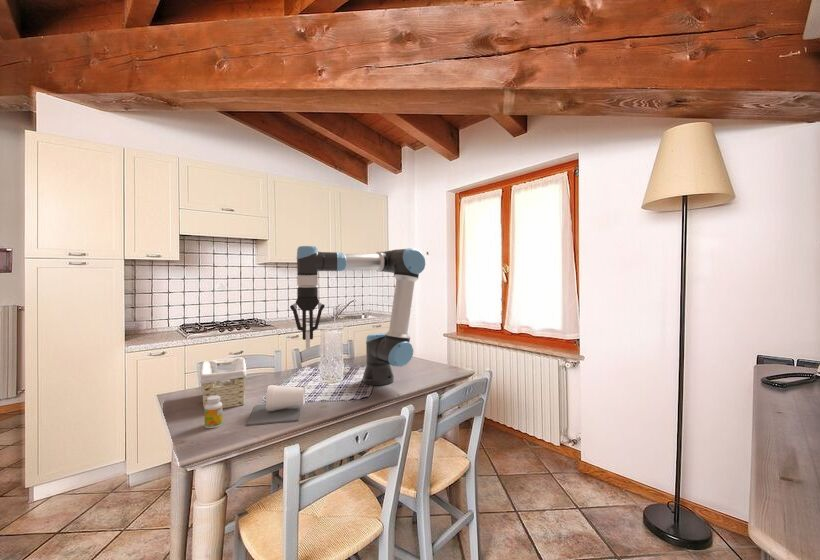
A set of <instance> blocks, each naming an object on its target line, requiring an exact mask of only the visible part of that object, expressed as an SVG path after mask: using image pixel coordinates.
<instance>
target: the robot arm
mask: <svg viewBox="0 0 820 560" xmlns="http://www.w3.org/2000/svg"><path fill="white" fill-rule="evenodd" d="M296 251H297V252H296V273H297V274H296V275H297V276H296V285H297V286H298V287H297V288H296V289H297V290H296V292H297V293H296V295H297V298H296V300H295V303H293V304H291V305H289V308H290V310H291V311H292V313H293V317H294V321H295V324H296V328H297V330H298V331H301V332H302V340H304V341H305V349H306V350H307V349H308V350H309V349H311V340H313V339H314V331H315V330H318V328H319V325H320V324H319V323H320V320H321V315H322V311H323V310H324V308H325V306H326V305H325V304H324V303H321V302H320V300H319V297H318V296H319V295H318V294H319V292H318V285H319V284H318V283H319V282H318V280H319V279H318V278H319V277H318V275H319V273H318V272H343V271H371V270H372V271H374V270H375V271H376V272H381V273H382V272H384V273H391V274H393V277H394V278H395V285H394V286H395V287H394V293H393V294H394V295H393V302H392V307H391V313H390V314H391V315H390V320H389V321H390V322H389V328H388V330H387V332H381V333H380V332H379V333H371V334H368V335H367V336H366V339H365V340H366V342H365V344H366V345H365V348H366V351H365V352H366V353H365V354H366V355H365V356H366V362H365V363H366V365H365V368H364V372H363V373H362V374H363V375H362V382H363V383H364V384H366V385H370V386H385V385H389V384H392V383H393V382H394V380H395V378H394V377H395V376H394V373H393V370H392V366H393V367H398V368H399V367H400V368H401V367H404V366H406V365H407V364H409V363H410V362H411V360H412V358H413V355H414V347H413V345H412V343H411V342H410V341H411V336H410V335H409V333H408V331H409V324H410V317H411V310H412V301H413V296H414V287H415V283H416V282H417V281H418V279H419V275H420V274H421V273H422V272H423V271H424V270H425V267H426V258H425V256H424V255H423V253H422V252H421V251H420V250H419V249H417V248H410V247H408V248H401V249H399V248H398V249H392V250H386V251H377V252H375V253H344V252H338V251H337V252H336V251H335V252H333V251H326V252H325V251H324V252H323V251H319V250H318V247H317V246H315V245H302V246H301V245H300V246H298V247H297V249H296ZM316 307H317V308H318V312H317V315H316V320H315V324H314V310H316ZM297 308H299V309H300V310H301V311H302V314H301V315H302V317H301V318H302V319H301V320H302V322H300V317H299V314H298V311H297ZM307 312H309V314H308V315H309V320H308V321H309V330H307ZM301 323H302V325H301Z"/></svg>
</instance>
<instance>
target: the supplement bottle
mask: <svg viewBox="0 0 820 560" xmlns="http://www.w3.org/2000/svg"><path fill="white" fill-rule="evenodd" d="M219 401H220V396H210V397H208V398H207V403H208V404H206V405H205V410H204V427H205V428H206V429H215V428H219V427H221V426H222V425H223V422H224V419H223V408H222V403H221V402H219Z"/></svg>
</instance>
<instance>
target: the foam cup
mask: <svg viewBox="0 0 820 560" xmlns="http://www.w3.org/2000/svg"><path fill="white" fill-rule="evenodd" d="M305 400H306V389H305V387H299V386H288V385H287V386H286V385H276V384H272V385H271V384H270V385H268V386H267V390H266V394H265V404H266V410H267V411H268V412H270V411H275V410H281V409H286V408H291V407H296V406H300V407H301V406H304V405H305V402H306V401H305Z"/></svg>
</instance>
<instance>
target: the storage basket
mask: <svg viewBox="0 0 820 560" xmlns="http://www.w3.org/2000/svg"><path fill="white" fill-rule="evenodd" d="M228 365H231V368H224V369H218V366H228ZM246 377H247V366H246V360H245V357H242V356H241V357H230V358H219V359H210V360H209V359H208V360H204V361H202V366H201V370H200V384H201V389H202V390H201V391H202V404H203V405H202V406H203V409H204V411H205V405H206V404H208V403H207V398H208V397H210V396H220V401H219V402H221V403H222V409H227V408H233V407H239V406H242V405H245V399H246Z"/></svg>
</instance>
